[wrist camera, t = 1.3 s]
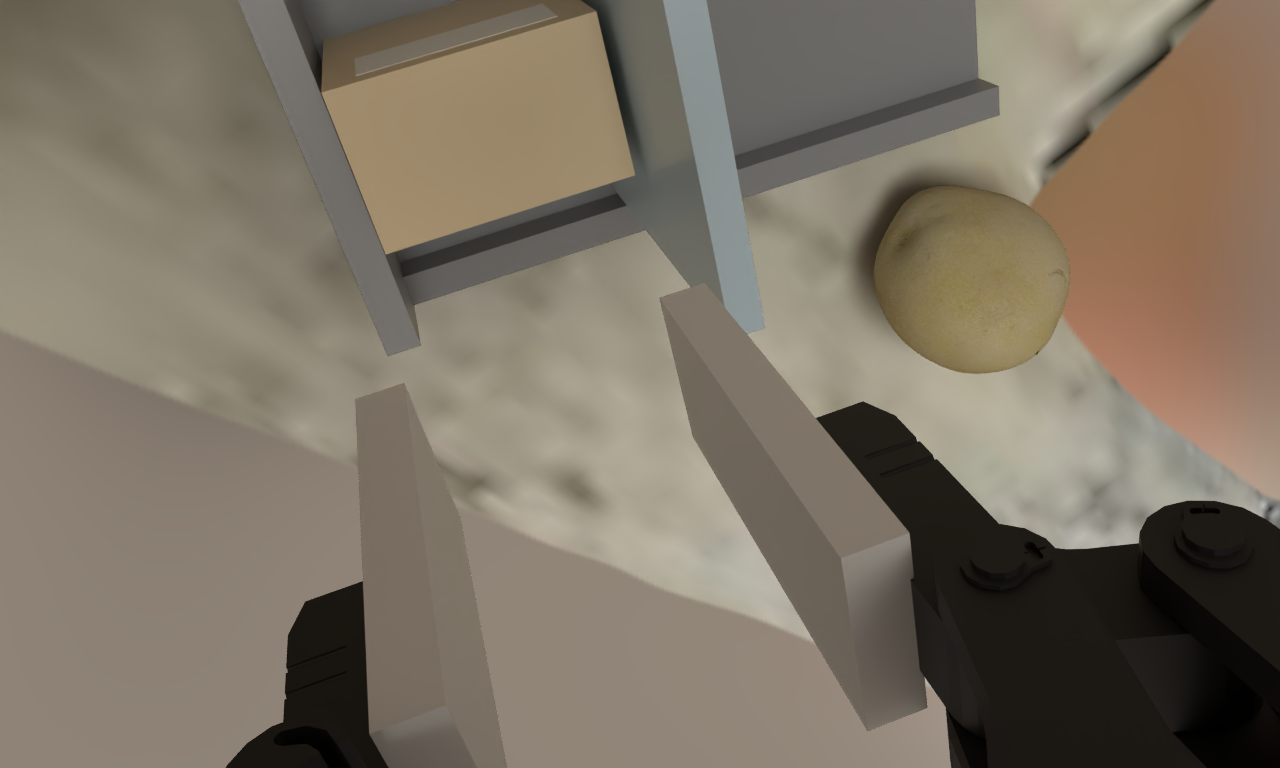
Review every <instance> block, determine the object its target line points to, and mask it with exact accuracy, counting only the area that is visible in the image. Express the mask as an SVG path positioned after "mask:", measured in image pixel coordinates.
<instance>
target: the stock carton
mask: <svg viewBox="0 0 1280 768" xmlns="http://www.w3.org/2000/svg"><path fill="white" fill-rule="evenodd" d="M321 93H322V96H323V98H324V101H325V103H326V106H327V108H328V111H329V113H330V116H331V118H332V121H333V123H334V126H335V128H336V131H337V133H338V136H339V138H340V141H341V143H342V146H343V149H344V151H345V154H346V156H347V159H348V161H349V164H350V166H351V169H352V171H353V174H354V176H355V179H356V181H357V184H358V186H359V189H360V191H361V194H362V196H363V199H364V201H365V204H366V206H367V209H368V211H369V214H370V216H371V219H372V221H373V224H374V226H375V229H376V232H377V234H378V237H379V239H380V242H381V244H382V247H383V249H384V252H385V254H389V253H392V252H395V251H398V250H402V249H405V248H408V247H411V246H414V245H417V244H420V243H424V242H427V241H430V240H433V239H436V238H439V237H442V236H446V235H449V234H452V233H455V232H458V231H461V230H464V229H468V228H471V227H474V226H477V225H480V224H483V223H487V222H490V221H493V220H496V219H499V218H502V217H505V216H509V215H512V214H515V213H518V212H521V211H524V210H527V209H531V208H534V207H537V206H540V205H543V204H546V203H549V202H553V201H556V200H559V199H562V198H565V197H568V196H572V195H575V194H578V193H581V192H584V191H587V190H590V189H594V188H597V187H600V186H603V185H606V184H609V183H612V182H616V181H619V180H622V179H625V178H628V177H631V176H635V172H634V168H633V163H632V159H631V155H630V151H629V147H628V142H627V138H626V134H625V130H624V126H623V121H622V117H621V113H620V109H619V104H618V100H617V96H616V92H615V88H614V83H613V79H612V75H611V71H610V67H609V62H608V58H607V54H606V50H605V46H604V41H603V37H602V33H601V29H600V25H599V20H598V16H597V12H596V11H595V10H594V9H593V8H591V7H590V6H588V5H587V4H585V3H584V2H582V1H581V0H460V1H457V2H453V3H450V4H446V5H443V6H440V7H436V8H433V9H429V10H426V11H422V12H419V13H415V14H412V15H409V16H405V17H402V18H398V19H395V20H391V21H388V22H384V23H381V24H378V25H374V26H371V27H367V28H364V29H360V30H357V31H354V32H350V33H347V34H343V35H340V36H336V37H333V38H329V39H326V40H323V62H322V88H321Z"/></svg>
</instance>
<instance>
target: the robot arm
mask: <svg viewBox="0 0 1280 768" xmlns="http://www.w3.org/2000/svg"><path fill="white" fill-rule="evenodd" d="M660 302H661V306H662V311H663V315H664V319H665V323H666V327H667V331H668V335H669V340H670V344H671V348H672V352H673V356H674V360H675V365H676V369H677V373H678V377H679V381H680V385H681V389H682V394H683V398H684V402H685V406H686V410H687V414H688V419H689V423H690V427H691V431H692V435H693V438H694V439H695V441H696V443H697V444H698V446H699V448H700V450H701V451H702V453H703V455H704V456H705V458H706V460H707V461H708V463H709V465H710V466H711V468H712V470H713V471H714V473H715V475H716V477H717V478H718V480H719V482H720V483H721V485H722V487H723V488H724V490H725V492H726V493H727V495H728V497H729V498H730V500H731V502H732V504H733V505H734V507H735V509H736V510H737V512H738V514H739V515H740V517H741V519H742V520H743V522H744V524H745V525H746V527H747V529H748V531H749V532H750V534H751V536H752V537H753V539H754V541H755V542H756V544H757V546H758V547H759V549H760V551H761V552H762V554H763V556H764V557H765V559H766V561H767V563H768V564H769V566H770V568H771V569H772V571H773V573H774V574H775V576H776V578H777V579H778V581H779V583H780V584H781V586H782V588H783V590H784V591H785V593H786V595H787V596H788V598H789V600H790V601H791V603H792V605H793V606H794V608H795V610H796V611H797V613H798V615H799V617H800V618H801V620H802V622H803V623H804V625H805V627H806V628H807V630H808V632H809V633H810V635H811V637H812V638H813V640H814V642H815V643H816V645H817V647H818V649H819V650H820V652H821V654H822V655H823V657H824V658H825V660H826V662H827V664H828V665H829V667H830V669H831V670H832V672H833V674H834V675H835V677H836V679H837V681H838V682H839V684H840V686H841V687H842V689H843V691H844V692H845V694H846V696H847V697H848V699H849V700H850V702H851V704H852V706H853V708H854V709H855V711H856V713H857V714H858V716H859V718H860V719H861V721H862V723H863V724H864V726H865V728H866V729H867V731H870V730H872V729H875V728H877V727H880V726H882V725H885V724H887V723H890V722H892V721H895V720H897V719H900V718H902V717H905V716H908V715H910V714H913V713H915V712H918V711H920V710H923V709H925V708H927V699H926V689H925V679H924V677H925V678H926V679H927V681H928V682H929V684H930V685H931V687H932V688H933V689H934V691H935V692H936V694H937V695H938V697H939V698H940V699H941V701H942V702H943V704H944V705H945V707H946V716H947V727H948V738H949V750H950V761H951V768H1280V529H1279V528H1277V527H1276V526H1275V525H1273V524H1272V523H1270V522H1269V521H1268V520H1266V519H1264V518H1262V517H1260V516H1258V515H1256V514H1254V513H1252V512H1250V511H1248V510H1246V509H1244V508H1242V507H1238V506H1234V505H1229V504H1225V503H1221V502H1217V501H1185V502H1181V503H1176V504H1172V505H1168V506H1164V507H1163V508H1161V509H1160V510H1158V511H1157V512H1155V513H1153V514H1152V515H1150V516H1149V517H1147V519H1146V521H1145V523H1144V525H1143V527H1142V529H1141V531H1140V535H1139V543H1138V544H1129V545H1119V546H1110V547H1100V548H1091V549H1058V548H1055V547H1054V546H1053V545H1052V544H1051V543H1050V542H1049V541H1048V540H1047V539H1046V538H1043V537H1041V536H1039V535H1037V534H1035V533H1033V532H1031V531H1029V530H1027V529H1025V528H1019V527H1014V526H1008V525H1003V524H999V523H998V522H997V521H996V520H995V519H994V518H993V517H992V516H991V515H990V514H989V513H988V512H987V511H986V510H985V509H984V508H983V507H982V506H981V505H980V504H979V503H978V502H977V501H976V500H975V498H974V497H973V496H972V495H971V494H970V493H969V492H968V491H967V490H966V489H965V488H964V487H963V486H962V485H961V484H960V483H959V482H958V481H957V480H956V479H955V478H954V477H953V476H952V474H951V473H950V472H949V471H948V470H947V469H946V468H945V467H944V466H943V465H942V464H941V463H940V462H939V461H938V460H937V459H936V460H934V458H933V455H932V454H931V453H930V452H929V450H928V449H927V448H926V447H925V446H924V445H923V444H922V443H921V442H920V441H919V442H917V440H916V437H915V436H914V435H913V434H912V433H911V432H910V431H909V430H908V429H907V427H906V426H905V425H904V424H903V423H902V422H901V421H900V420H899V419H898V418H897V417H896V416H895V415H893V414H890V413H888V412H886V411H884V410H881V409H879V408H877V407H874V406H872V405H870V404H868V403H865V402H860V403H857V404H854V405H852V406H849V407H846V408H843V409H840V410H838V411H835V412H832V413H829V414H826V415H823V416H821V417H818V418H815V417H814V416H813V414H812V413H811V412H810V411H809V410H808V408H807V407H806V406H805V405H804V403H803V402H802V401H801V400H800V399H799V397H798V396H797V395H796V394H795V392H794V391H793V390H792V389H791V388H790V386H789V385H788V384H787V383H786V381H785V380H784V379H783V378H782V377H781V375H780V374H779V373H778V372H777V371H776V369H775V368H774V367H773V366H772V364H771V363H770V362H769V361H768V360H767V358H766V357H765V356H764V355H763V353H762V352H761V351H760V350H759V349H758V347H757V346H756V345H755V344H754V342H753V341H752V340H751V339H750V338H749V336H748V335H747V334H746V333H745V331H744V330H743V329H742V328H741V327H740V325H739V324H738V323H737V322H736V320H735V319H734V318H733V317H732V316H731V314H730V313H729V312H728V311H727V309H726V308H725V307H724V306H723V305H722V303H721V302H720V301H719V300H718V298H717V297H716V296H715V295H714V294H713V292H712V291H711V290H710V289H709V288H708V286H707V285H706V284H705V283H703V284H700V285H697V286H694V287H691V288H688V289H685V290H682V291H679V292H676V293H673V294H670V295H667V296H664V297H661V298H660ZM355 401H356V426H357V450H358V474H359V498H360V520H361V521H360V522H361V546H362V570H363V581H362V582H359V583H357V584H354V585H351V586H348V587H345V588H343V589H340V590H337V591H334V592H331V593H328V594H326V595H323V596H320V597H317V598H314V599H311V600H309V601H306V602H305V603H304V605H303V607H302V609H301V611H300V613H299V615H298V617H297V619H296V621H295V623H294V625H293V626H292V628H291V631H290V632H289V634H288V646H287V664H286V667H287V669H288V673H286V683H285V694H286V698H287V699H285V701H284V720H283V723H280V724H277V725H275V726H272V727H270V728H269V729H267V730H266V731H264V732H263V733H262V734H260V735H259V736H257V737H256V738H254V739H253V740H251V741H250V742H248V743H247V744H246V745H245V746H244V747H243V748H242V750H241V751H240V752H239V753H238V754H237V755H236V756H235V757H234V758H233V760H232V761H231V762H230V763H229V764H228V765H227V767H226V768H507V764H506V759H505V754H504V749H503V743H502V738H501V733H500V727H499V722H498V716H497V711H496V706H495V700H494V695H493V689H492V685H491V679H490V674H489V668H488V663H487V658H486V652H485V647H484V641H483V636H482V631H481V625H480V620H479V614H478V609H477V604H476V598H475V593H474V588H473V583H472V577H471V572H470V567H469V561H468V555H467V550H466V545H465V539H464V535H463V530H462V523H461V519H460V516H459V513H458V511H457V509H456V506H455V504H454V501H453V499H452V497H451V494H450V492H449V489H448V487H447V485H446V482H445V480H444V477H443V475H442V473H441V470H440V468H439V466H438V463H437V461H436V458H435V456H434V454H433V451H432V449H431V446H430V444H429V442H428V439H427V437H426V434H425V432H424V430H423V427H422V425H421V422H420V420H419V418H418V415H417V413H416V411H415V408H414V406H413V403H412V401H411V399H410V396H409V394H408V391H407V389H406V387H405V384H404V383H403V384H400V385H397V386H394V387H391V388H388V389H385V390H382V391H379V392H376V393H373V394H370V395H367V396H364V397H361V398H358V399H355Z"/></svg>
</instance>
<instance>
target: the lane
mask: <svg viewBox="0 0 1280 768" xmlns="http://www.w3.org/2000/svg"><path fill="white" fill-rule="evenodd" d="M457 1H460V0H238V3H239V5H240V7H241V10H242V12H243V14H244V17H245V19H246V21H247V24H248V26H249V29H250V31H251V33H252V36H253V38H254V40H255V43H256V45H257V48H258V50H259V52H260V55H261V57H262V59H263V62H264V64H265V66H266V69H267V71H268V74H269V76H270V78H271V81H272V83H273V85H274V88H275V90H276V93H277V95H278V97H279V100H280V102H281V104H282V107H283V109H284V112H285V114H286V116H287V119H288V121H289V123H290V126H291V128H292V130H293V133H294V135H295V138H296V140H297V142H298V145H299V147H300V149H301V152H302V154H303V157H304V159H305V161H306V164H307V166H308V168H309V171H310V173H311V176H312V178H313V180H314V183H315V185H316V187H317V190H318V192H319V194H320V197H321V199H322V202H323V204H324V206H325V209H326V211H327V213H328V216H329V218H330V221H331V223H332V225H333V228H334V230H335V232H336V235H337V237H338V240H339V242H340V244H341V247H342V249H343V251H344V254H345V256H346V258H347V261H348V263H349V266H350V268H351V270H352V273H353V275H354V277H355V280H356V282H357V285H358V287H359V289H360V292H361V294H362V296H363V299H364V301H365V304H366V306H367V308H368V311H369V313H370V315H371V318H372V320H373V322H374V325H375V327H376V330H377V332H378V334H379V337H380V339H381V341H382V344H383V346H384V349H385V351H386V353H387V356H390V355H393V354H396V353H399V352H402V351H405V350H408V349H411V348H414V347H417V346H420V345H421V344H420V338H419V332H418V326H417V320H416V315H415V309H414V305H415V304H418V303H422V302H425V301H428V300H431V299H434V298H437V297H440V296H443V295H446V294H449V293H452V292H455V291H459V290H462V289H465V288H468V287H471V286H474V285H477V284H480V283H483V282H486V281H489V280H492V279H496V278H499V277H502V276H505V275H508V274H511V273H514V272H517V271H520V270H523V269H526V268H529V267H532V266H536V265H539V264H542V263H545V262H548V261H551V260H554V259H557V258H560V257H563V256H566V255H569V254H573V253H576V252H579V251H582V250H585V249H588V248H591V247H594V246H597V245H600V244H603V243H606V242H610V241H613V240H616V239H619V238H622V237H625V236H628V235H631V234H634V233H637V232H640V231H643V230H646V229H645V228H644V227H643V226H642V224H641V223H640V222H639V220H638V219H637V218H636V217H635V215H634V214H633V213H632V211H631V210H630V209H629V208H628V206H627V205H626V204H625V203H624V201H623V200H622V199H621V197H620V196H619V195H618V194H617V192H616V191H615V190H614V188H613V187H612V186H611V184H610V183H609V184H606V185H603V186H600V187H597V188H594V189H590V190H587V191H584V192H581V193H578V194H575V195H572V196H568V197H565V198H562V199H559V200H556V201H553V202H549V203H546V204H543V205H540V206H537V207H534V208H531V209H527V210H524V211H521V212H518V213H515V214H512V215H509V216H505V217H502V218H499V219H496V220H493V221H490V222H487V223H483V224H480V225H477V226H474V227H471V228H468V229H464V230H461V231H458V232H455V233H452V234H449V235H446V236H442V237H439V238H436V239H433V240H430V241H427V242H424V243H420V244H417V245H414V246H411V247H408V248H405V249H402V250H398V251H395V252H392V253H389V254H385V252H384V249H383V247H382V244H381V242H380V239H379V237H378V234H377V232H376V229H375V226H374V224H373V221H372V219H371V216H370V214H369V211H368V209H367V206H366V204H365V201H364V199H363V196H362V194H361V191H360V189H359V186H358V184H357V181H356V179H355V176H354V174H353V171H352V169H351V166H350V164H349V161H348V159H347V156H346V154H345V151H344V149H343V146H342V143H341V141H340V138H339V136H338V133H337V131H336V128H335V126H334V123H333V121H332V118H331V116H330V113H329V111H328V108H327V106H326V103H325V101H324V98H323V96H322V93H321V88H322V62H323V40H326V39H329V38H333V37H336V36H340V35H343V34H347V33H350V32H354V31H357V30H360V29H364V28H367V27H371V26H374V25H378V24H381V23H384V22H388V21H391V20H395V19H398V18H402V17H405V16H409V15H412V14H415V13H419V12H422V11H426V10H429V9H433V8H436V7H440V6H443V5H446V4H450V3H453V2H457ZM706 1H707V6H708V12H709V17H710V23H711V28H712V34H713V40H714V45H715V51H716V56H717V62H718V67H719V73H720V79H721V84H722V90H723V95H724V101H725V107H726V112H727V118H728V123H729V129H730V134H731V140H732V146H733V151H734V157H735V162H736V168H737V173H738V179H739V185H740V190H741V196H742V198H745V197H748V196H751V195H754V194H757V193H761V192H764V191H767V190H770V189H773V188H776V187H779V186H782V185H785V184H788V183H791V182H794V181H798V180H801V179H804V178H807V177H810V176H813V175H816V174H819V173H822V172H825V171H828V170H831V169H835V168H838V167H841V166H844V165H847V164H850V163H853V162H856V161H859V160H862V159H865V158H868V157H871V156H875V155H878V154H881V153H884V152H887V151H890V150H893V149H896V148H899V147H902V146H905V145H908V144H912V143H915V142H918V141H921V140H924V139H927V138H930V137H933V136H936V135H939V134H942V133H945V132H949V131H952V130H955V129H958V128H961V127H964V126H967V125H970V124H973V123H976V122H979V121H982V120H986V119H989V118H992V117H995V116H998V115H1000V112H999V86H997V85H994V84H992V83H989V82H987V81H984V80H981V79H979V78H978V58H977V33H976V8H975V0H706Z"/></svg>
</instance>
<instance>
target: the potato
mask: <svg viewBox="0 0 1280 768" xmlns="http://www.w3.org/2000/svg"><path fill="white" fill-rule="evenodd" d="M874 283H875V288H876V293H877V297H878V300H879V303H880V306H881V308H882V311H883V313H884V315H885V317H886V318H887V320H888V322H889V323H890V325H891V326H892V328H893V329H894V331H895V332H896V333H897V334H898V336H899V337H900V338H901V339H902V340H903V341H904V342H905V343H906V344H907V345H908V346H909V347H911V348H912V349H913V350H914V351H916V352H917V353H919V354H920V355H922V356H923V357H925V358H926V359H928V360H930V361H932V362H934V363H936V364H938V365H940V366H942V367H945V368H948V369H950V370H954V371H958V372H963V373H973V374H979V373H992V372H999V371H1003V370H1007V369H1010V368H1013V367H1016V366H1018V365H1020V364H1023V363H1024V362H1026V361H1028V360H1029V359H1031V358H1032V357H1034V356H1035V355H1037V354H1038V352H1039V351H1040V350H1042V348H1043V347H1044V346H1045V345H1046V344H1047V343H1048V341H1049V340H1050V338H1051V336H1052V335H1053V333H1054V330H1055V328H1056V326H1057V323H1058V321H1059V319H1060V317H1061V314H1062V312H1063V309H1064V307H1065V303H1066V300H1067V296H1068V291H1069V284H1070V266H1069V260H1068V256H1067V253H1066V249H1065V247H1064V245H1063V243H1062V241H1061V239H1060V238H1059V236H1058V235H1057V233H1056V232H1055V230H1054V229H1053V227H1052V226H1051V225H1050V224H1049V223H1048V222H1047V221H1046V220H1045V219H1044V218H1043V217H1042V216H1041V215H1040V214H1039V213H1037V212H1036V211H1035V210H1033V209H1032V208H1030V207H1029V206H1027V205H1026V204H1024V203H1022V202H1020V201H1018V200H1016V199H1014V198H1011V197H1009V196H1005V195H1002V194H998V193H993V192H988V191H983V190H978V189H972V188H964V187H957V186H947V185H946V186H935V187H931V188H927V189H924V190H922V191H920V192H918V193H916V194H914V195H913V196H912V197H910V198H909V199H908V200H907V201H906V202H905V203H904V204H903V205H902V206H901V207H900V209H899V211H898V212H897V214H896V215H895V217H894V219H893V220H892V222H891V224H890V225H889V227H888V229H887V231H886V232H885V235H884V237H883V239H882V241H881V243H880V246H879V248H878V251H877V255H876V260H875V265H874Z"/></svg>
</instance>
